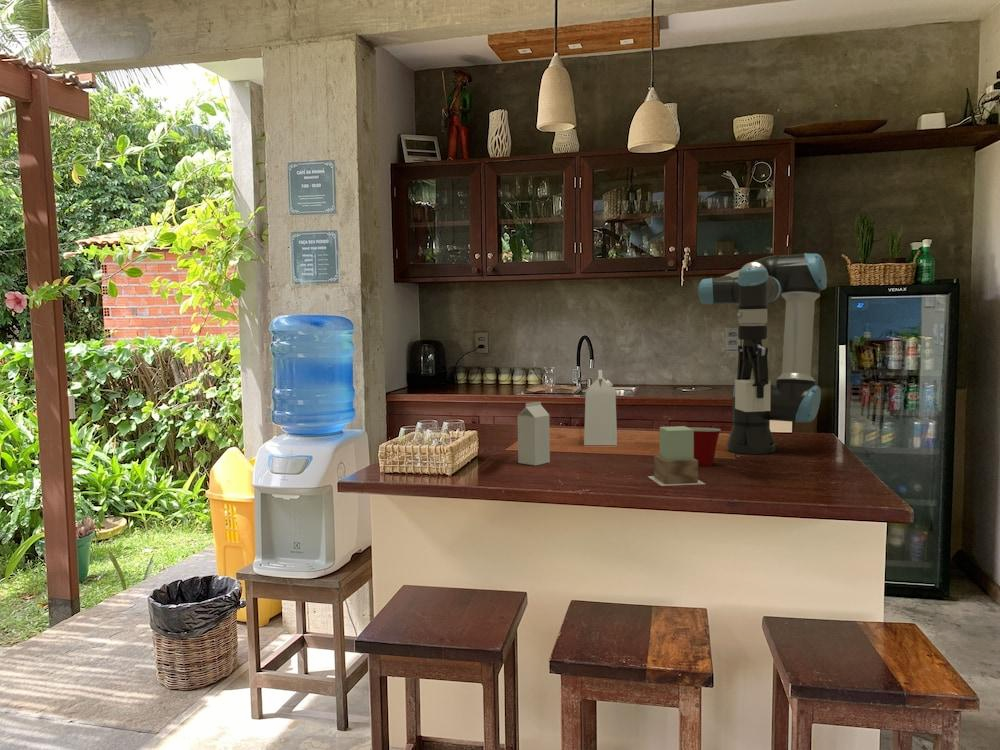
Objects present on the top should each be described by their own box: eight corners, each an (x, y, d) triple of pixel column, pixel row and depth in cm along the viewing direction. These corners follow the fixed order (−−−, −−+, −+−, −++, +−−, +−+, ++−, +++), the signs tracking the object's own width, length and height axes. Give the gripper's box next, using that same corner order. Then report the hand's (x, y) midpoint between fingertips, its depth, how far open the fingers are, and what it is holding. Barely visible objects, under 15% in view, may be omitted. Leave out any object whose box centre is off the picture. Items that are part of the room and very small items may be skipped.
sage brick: (684, 455, 210) (684, 426, 209) (693, 459, 203) (693, 429, 202) (659, 456, 209) (659, 426, 208) (667, 460, 202) (667, 430, 201)
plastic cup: (722, 464, 231) (722, 425, 230) (719, 471, 221) (720, 430, 220) (685, 463, 235) (685, 424, 234) (681, 469, 225) (681, 429, 224)
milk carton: (550, 462, 239) (549, 402, 237) (535, 466, 234) (534, 404, 232) (532, 460, 244) (532, 400, 242) (517, 463, 238) (517, 402, 237)
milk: (584, 440, 280) (584, 369, 278) (616, 440, 279) (616, 369, 277) (584, 446, 268) (583, 372, 266) (617, 446, 267) (616, 371, 265)
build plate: (689, 478, 213) (689, 474, 213) (705, 487, 201) (705, 483, 201) (647, 479, 212) (647, 476, 212) (661, 489, 200) (661, 485, 200)
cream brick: (759, 407, 216) (759, 379, 215) (770, 410, 209) (770, 381, 208) (735, 408, 215) (735, 380, 214) (745, 412, 208) (745, 382, 207)
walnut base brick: (686, 475, 211) (686, 454, 211) (698, 482, 202) (698, 460, 202) (654, 477, 210) (654, 455, 210) (664, 484, 201) (664, 461, 201)
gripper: (724, 324, 219) (724, 404, 221) (755, 326, 199) (755, 413, 201) (749, 323, 220) (749, 403, 222) (783, 325, 200) (782, 412, 202)
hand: (752, 408), depth 212 cm, fingers closed on cream brick, 7 cm apart
